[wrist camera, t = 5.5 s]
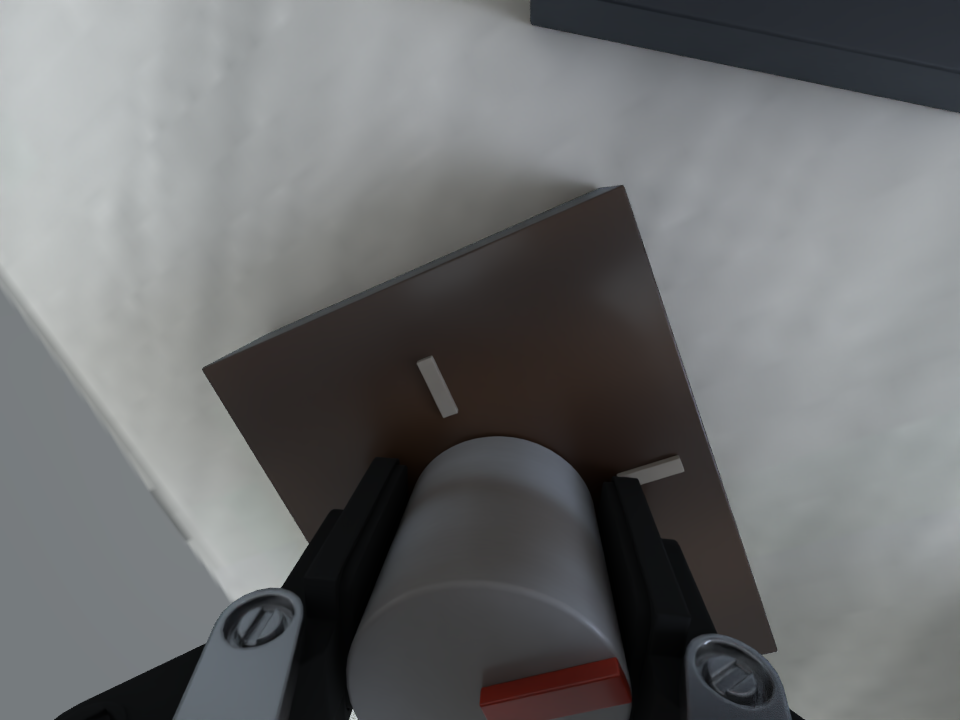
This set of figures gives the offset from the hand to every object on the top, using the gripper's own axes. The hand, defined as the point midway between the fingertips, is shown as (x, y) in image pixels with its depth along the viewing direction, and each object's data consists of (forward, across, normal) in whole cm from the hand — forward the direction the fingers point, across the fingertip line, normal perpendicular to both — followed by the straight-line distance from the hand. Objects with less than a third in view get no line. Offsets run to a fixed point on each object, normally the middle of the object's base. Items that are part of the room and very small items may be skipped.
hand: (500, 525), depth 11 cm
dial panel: (+3, 0, 0) cm, 3 cm away
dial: (0, 0, 0) cm, 0 cm away
